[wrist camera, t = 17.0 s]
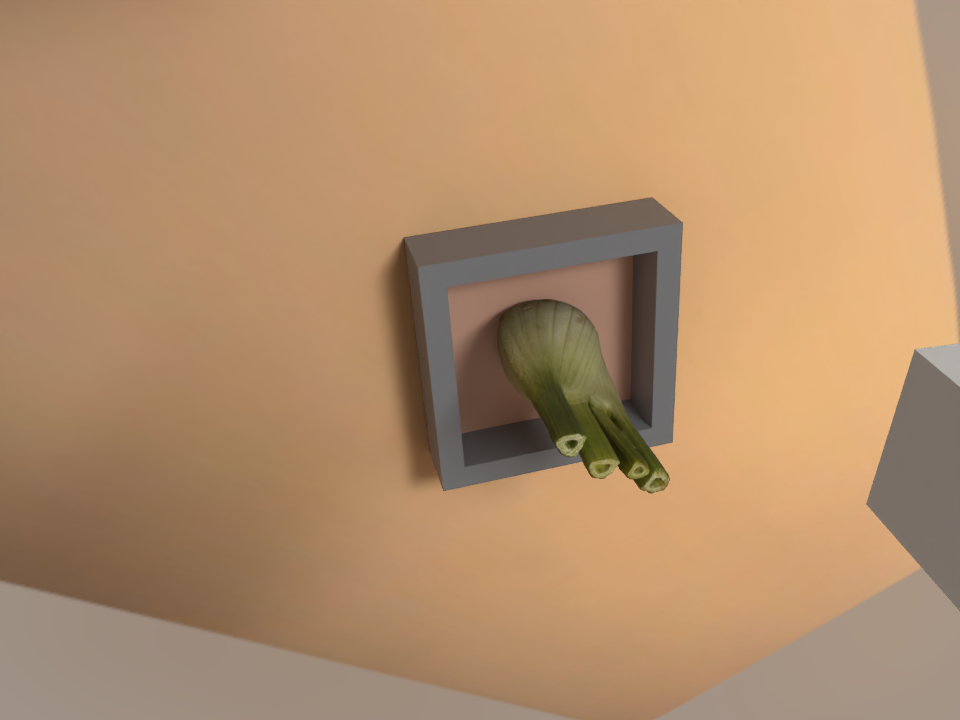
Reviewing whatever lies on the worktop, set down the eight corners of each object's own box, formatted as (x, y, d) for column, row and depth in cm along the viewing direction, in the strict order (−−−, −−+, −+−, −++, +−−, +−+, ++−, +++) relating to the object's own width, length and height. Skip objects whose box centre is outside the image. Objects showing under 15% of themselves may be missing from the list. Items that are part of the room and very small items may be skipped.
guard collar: (429, 451, 49) (443, 490, 46) (403, 237, 43) (417, 267, 40) (646, 407, 51) (672, 442, 48) (652, 197, 45) (682, 222, 42)
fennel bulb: (467, 315, 45) (540, 455, 35) (552, 261, 44) (650, 385, 34) (522, 395, 48) (603, 544, 38) (602, 344, 48) (705, 481, 37)
